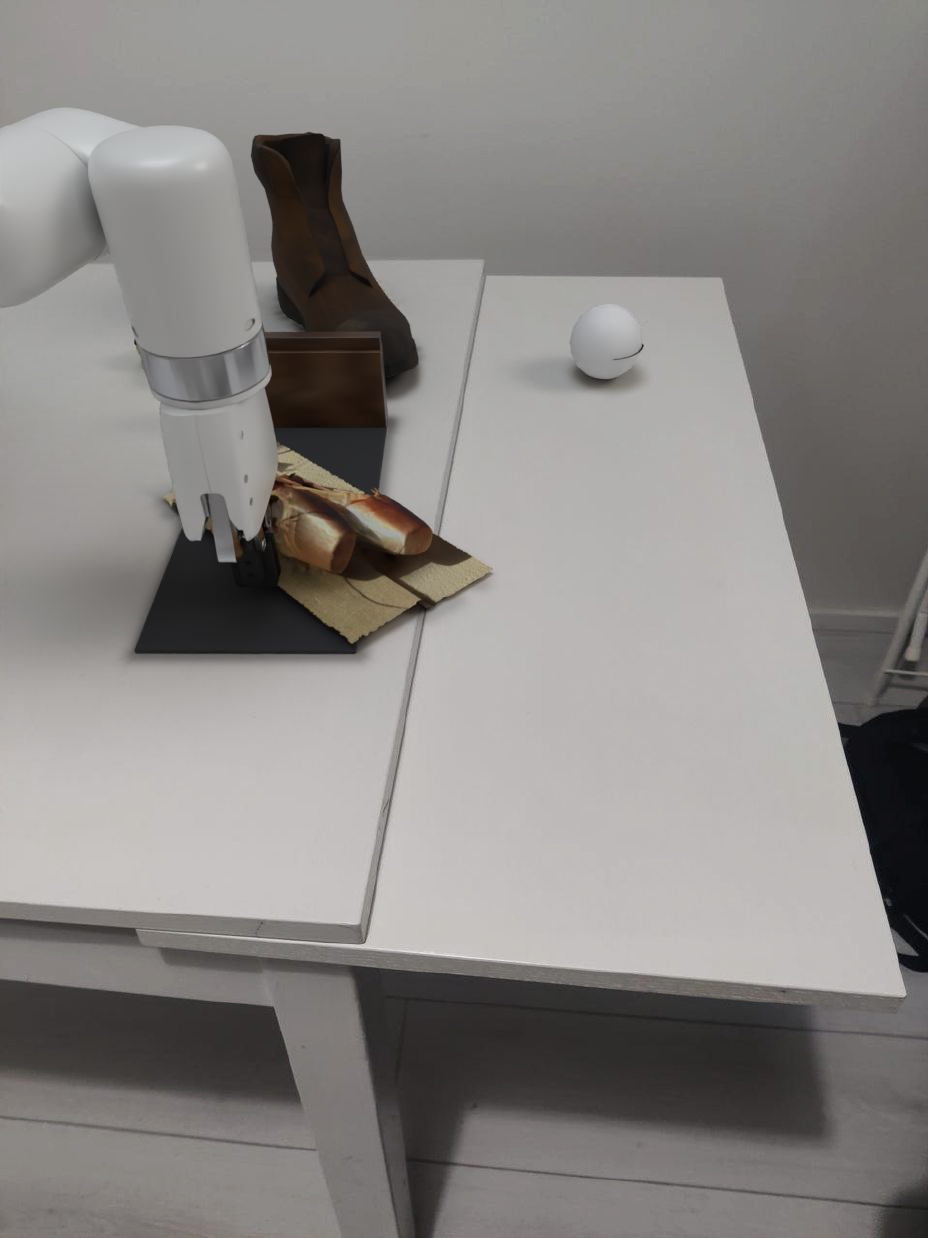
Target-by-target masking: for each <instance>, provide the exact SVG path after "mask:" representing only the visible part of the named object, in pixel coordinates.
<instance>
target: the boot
mask: <svg viewBox="0 0 928 1238" xmlns="http://www.w3.org/2000/svg"><path fill="white" fill-rule="evenodd" d="M341 141H342V140H341V139H340V138H332V137H329V136H326V135H324V133H321V132H319V133H318V132H311V131H307V132H303V133H298V132H297V133H281V134H257V135H254V136H253V139H252V142H251V149H250V158H251V163H252V167H253V172H254V174H255V176H256V177H257V179H258V181H259V182H260V184H261V186H262V187H263V189H264V192H265V196H266V199H267V203H268V208H269V211H270V217H271V222H272V223H271V227H272V228H271V243H270V250H271V257H272V263H273V266H274V270H275V274H276V278H275V283H276V293H277V301H278V304H279V307H280V309H281V311H282V312H284V314H285V316H286V317H287V318H289V319H290V320H293V321H294V322H297V323H299V324H300V325H301V326H302V327H303V328H304V329H305V330H306V332H376V331H380V332H381V342H382V348H383V361H384V373H385V379H386V378H390V377H393V376H396V375H398V374H401V373H404V372H407V371H409V370H412V369H413V368H416V367H417V366H418V365H419V361H420V358H419V354H418V347H417V344H416V342H415V339H414V338H413V336H412V330H411V324H410V323H409V320H408V318H407V317H406V316H405V315H404V314H403V312H402V311H401V310H400V309H399V308H398V307H397V306H396V304H394V302H392V301H391V299H390V298H389V296H388V295H387V294H386V292H385V291H384V290H383V289H382V287H381V285H380V284H379V282H378V281H377V279H376V277H375V275H374V274H373V272H372V270H371V268H370V267H369V264H368V263H367V262H368V261H366V259H365V257H364V254H363V252H362V249H361V246H360V243H359V240H358V237H357V234H356V231H355V227H354V224H353V221H352V220H351V217H350V215H349V213H348V209H347V208H346V205H345V202H344V197H343V191H342V190H343V189H342V188H343V187H342V186H343V185H342V184H343V165H342V163H343V162H342V145H341V143H342V142H341Z"/></svg>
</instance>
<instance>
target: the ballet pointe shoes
mask: <svg viewBox="0 0 928 1238" xmlns="http://www.w3.org/2000/svg"><path fill="white" fill-rule="evenodd" d="M276 444H277V452H278V468H277V474H276V478H275V481H274V485H273V489H272V492H271V496H270V499H269V508H270V515H271V522H272V525H271V530H270V531H265V532H266V533H273V534H274V538H275V543H276V548H277V552H278V557H279V562H280V566H281V574H280V576H279V581H278V585H277V586H280V588H283V590H286V593H288V594H289V595H291V596H293V598H294V599H296V600H298V601H299V602H300V603H301V604H304V606H305V607H307V608H308V609H309V610H310V612H314V613H313V614H314V615H317V617H318V618H321V620H322V621H323V623H326V625H328V626H331V627H334V628H335V629H336V630H338V631H340V632H341V633H339V634H341V635H344V636H345V637H346V638H348V641H349V642H350V643H354V642H356V641H357V642H358V640H359V638H362V636H364V637H368V636H369V634H370V632H376V631H377V630H378V629H379V627H382V626H385V624H386V623H389V622H391V621H392V620H394V619H395V618H396V617H398V616H399V615H401V614H403V612H405V611H407V610H409V609H410V608H412V607H414V606H415V605H417V604H419V605H421V606H422V607H424V608H425V609H426V610H429V609H431V608H432V607H435V606H436V605H437V602H439V601H441V602H442V601H443V600H442V599H444V598H445V597H446V598H447V597H451V596H453V595H454V594H456V593H457V592H459V591H460V590H462V589H463V588H466V587H467V586H468V585H471V584H472V583H474V582H475V581H477V580H478V579H479V580H480V579H481V578H484V576H486V574H488V573H489V572H492V571H493V570H494V568H493V567H490V566H489V565H487V564H485V563H484V562H482V561H481V560H478V559H477V558H476V557H474V556H473V555H471V554H469V553H468V552H466V551H464V550H463V549H461V548H458V547H457V545H454V544H452V543H451V542H449V541H447V540H445V539H444V538H443V537H441V536H439V535H438V534H436V533H434V532H433V529H432V528H431V527H430V525H429V524H428V523H427V522H426V521H425V520H423V519H421V518H420V517H419V516H418V515H416V514H415V513H414V512H413V511H411V510H410V509H408V508H407V507H406V506H404V505H403V504H402V503H400V502H398V501H397V500H395V499H393V498H391V497H390V496H389V495H386V494H382V493H380V492H379V490H378V491H377V490H376V488H374V489H373V490H372V489H371V490H372V491H373V492H374V494H375V495H369V494H364V492H363V491H360V490H359V489H357V488H355V487H354V488H353V487H352V485H349V483H346V482H344V480H342V479H340V478H338V477H337V476H335V475H332V473H331V474H330V472H328V471H326V470H325V469H323V468H322V467H320V466H317V465H316V464H315V463H314V464H313V463H312V462H310V461H309V460H308V459H306V458H304V457H303V456H300V454H298V453H295V452H294V451H293V450H290V449H289V448H286V446H284V445H280V443H279V442H277V441H276ZM161 498H162V499H165V501H167V503H169V505H168V507H173V506H177V503H176V499H175V495H174V491H173V490H172V491H170V492H168V493H167V494H165V495H163V496H162V497H161ZM206 528H207V529H208V530H210V529H212V531H211V533H213V527H212V521H211V517H209V520H208V522H207V525H206ZM237 532H238V531H237ZM213 535H214V533H213Z"/></svg>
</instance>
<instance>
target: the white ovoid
mask: <svg viewBox="0 0 928 1238" xmlns="http://www.w3.org/2000/svg"><path fill="white" fill-rule="evenodd" d="M646 323H648V320H647V321H645V322H644V323H642V324H641V325H640V323H639V321H638V319H637V318H636V316H635V315H633V313H632V312H631V311H630V310H629V309H627V308H625V307H623V306H621V305H617V304H615V303H614V304H613V303H603V304H598V305H594V306H592V307H590V308H589V309H587V310H586V311H584V312H583V313H582V314H580V316H579V317H578V318H577V320H576V322H575V323H574V324H573V325H572V330H571V334H570V338H569V350H570V354H571V356H572V359H573V360H574V363H575V365H576V366H577V367H578V369H580V370H581V371H582V373H584V374H585V375H587V376H589V377H590V378H594V379H598V380H599V379H600V380H610V379H614V378H615V379H616V378H618V377H620V376H621V375H624V374H625V373H627V372H628V371H629V370H630V369H632V367H633V365H634V364H635V363H636V361H638V359H639V357H640V354H641V351H642V350H643V349H644V347H645V345H644V343H643V331H642V329H641V327H642V326H643V325H645V324H646Z"/></svg>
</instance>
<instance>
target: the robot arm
mask: <svg viewBox="0 0 928 1238" xmlns="http://www.w3.org/2000/svg"><path fill="white" fill-rule="evenodd" d="M236 176H237V175H236V172H235V167H234V164H233V159H232V157H231V155H230V152H229V151H228V149H227V147H226V145H224V143H223V142H222V141H221V140H220V139H219V138H218V137H217V136H215V135H214V134H212V133H210V132H209V131H207V130H203V129H201V128H196V127H191V126H186V125H172V124H171V125H170V124H169V125H167V124H165V125H152V126H151V125H150V126H140V125H137V124H133V123H129V122H126V121H123V120H119V119H116V118H113V117H110V116H107V115H104V114H101V113H99V112H95V111H92V110H88V109H83V108H77V107H54V108H50V109H46V110H43V111H40V112H37V113H35V114H32V115H29V116H28V117H26V118H23V119H21V120H19V121H17V122H14V123H11V124H7V125H5V126H2V127H0V309H4V308H5V309H6V308H11V307H17V306H20V305H23V304H26V303H28V302H30V301H32V300H33V299H35V298H37V297H39V296H41V295H43V294H44V293H46V292H47V291H49V290H51V289H52V288H54V287H55V286H57V285H58V284H60V283H61V282H62V281H64V280H66V279H67V278H69V277H70V276H71V275H73V274H74V273H76V272H77V271H79V270H80V269H82V268H83V267H85V266H86V265H88V264H90V263H92V262H94V261H97V260H100V259H101V258H105V257H106V256H108V255H110V258H111V262H112V265H113V268H114V273H115V275H116V278H117V282H118V285H119V288H120V291H121V292H120V293H121V295H122V299H123V302H124V305H125V308H126V313H127V316H128V320H129V323H130V327H131V329H132V333H133V336H134V339H135V340H136V343H137V347H138V350H139V353H140V354H139V353H138V354H139V356H140V360H141V364H142V367H143V370H144V375H145V378H146V380H147V384H148V388H149V390H150V393H151V395H152V396H153V398H154V399H155V400H157V401H158V402H159V418H160V427H161V436H162V440H163V441H162V442H163V448H164V454H165V459H166V465H167V468H168V469H167V470H168V473H169V478H170V482H171V486H172V491H174V495H175V499H176V503H177V505H176V507H177V512H178V515H179V519H180V522H181V528H182V527H183V530H184V533H185V535H186V537H187V538H188V539H189V540H190V541H195V540H198V541H201V539H202V536H203V533H204V531H205V528H206V525H207V522H208V520H209V517H211V521H212V527H213V533H214V539H215V545H216V551H217V557H218V561H219V563H230V565H231V568H232V572H233V576H234V580H235V583H236V585H237V586H239V587H276V586H277V585H278V581H279V576H280V574H281V566H280V562H279V557H278V552H277V548H276V543H275V538H274V534H273V533H266V532H265V531H270V530H271V525H272V522H271V515H270V508H269V499H270V496H271V492H272V489H273V485H274V481H275V478H276V474H277V468H278V452H277V444H276V438H275V432H274V427H273V422H272V417H271V413H270V408H269V404H268V400H267V396H266V392H265V388H264V387H265V386H266V385H267V384H268V382H269V381H270V378H271V375H272V372H271V365H270V360H269V354H268V349H267V344H266V338H265V333H264V332H265V329H264V327H265V326H264V323H263V319H262V313H261V307H260V301H259V296H258V291H257V285H256V284H257V283H256V279H255V274H254V269H253V263H252V262H253V261H252V258H251V252H250V247H249V242H248V236H247V230H246V225H245V220H244V214H243V208H242V202H241V198H240V197H241V196H240V192H239V186H238V181H237V177H236ZM237 531H238V532H237Z"/></svg>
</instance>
